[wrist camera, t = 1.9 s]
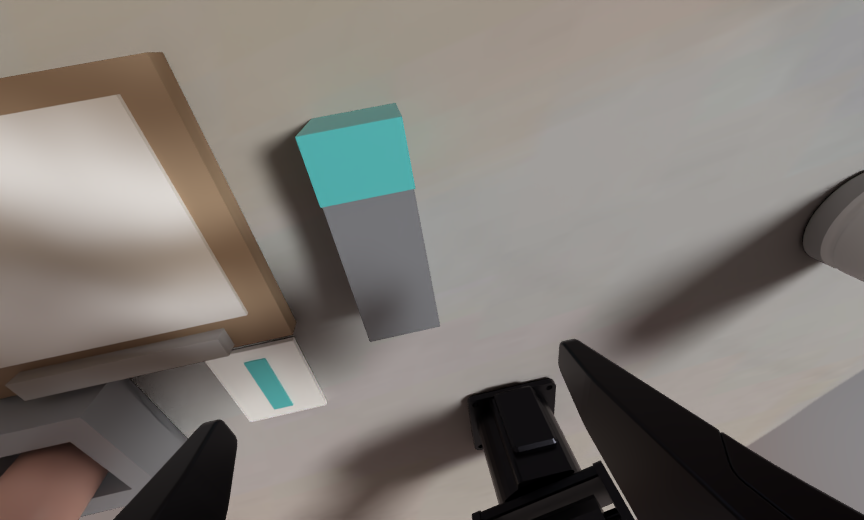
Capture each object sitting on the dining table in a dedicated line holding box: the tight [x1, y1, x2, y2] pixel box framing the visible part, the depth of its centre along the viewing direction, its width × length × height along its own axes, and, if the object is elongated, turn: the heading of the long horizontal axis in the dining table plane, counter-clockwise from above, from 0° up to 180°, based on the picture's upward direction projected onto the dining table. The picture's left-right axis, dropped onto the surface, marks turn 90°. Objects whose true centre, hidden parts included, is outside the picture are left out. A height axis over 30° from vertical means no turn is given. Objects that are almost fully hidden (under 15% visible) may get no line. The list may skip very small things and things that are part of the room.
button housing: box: [0, 378, 188, 517], centre depth 20 cm, size 8×8×3 cm
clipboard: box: [0, 52, 296, 401], centre depth 14 cm, size 13×16×2 cm
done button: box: [0, 442, 109, 520], centre depth 17 cm, size 4×4×4 cm
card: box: [205, 337, 327, 422], centre depth 21 cm, size 6×5×1 cm
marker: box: [295, 103, 440, 342], centre depth 15 cm, size 10×4×4 cm, turn 9°
